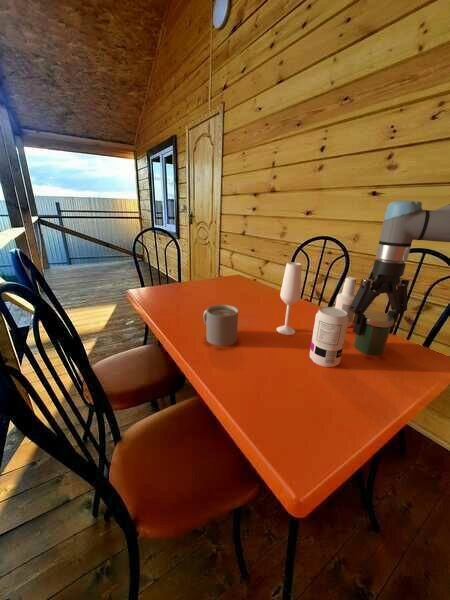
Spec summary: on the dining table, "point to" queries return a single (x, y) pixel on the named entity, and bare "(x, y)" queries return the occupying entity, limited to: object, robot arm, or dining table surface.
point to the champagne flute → (290, 292)
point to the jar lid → (378, 319)
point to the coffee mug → (221, 324)
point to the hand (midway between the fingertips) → (372, 332)
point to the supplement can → (328, 336)
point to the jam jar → (372, 340)
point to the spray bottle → (347, 298)
